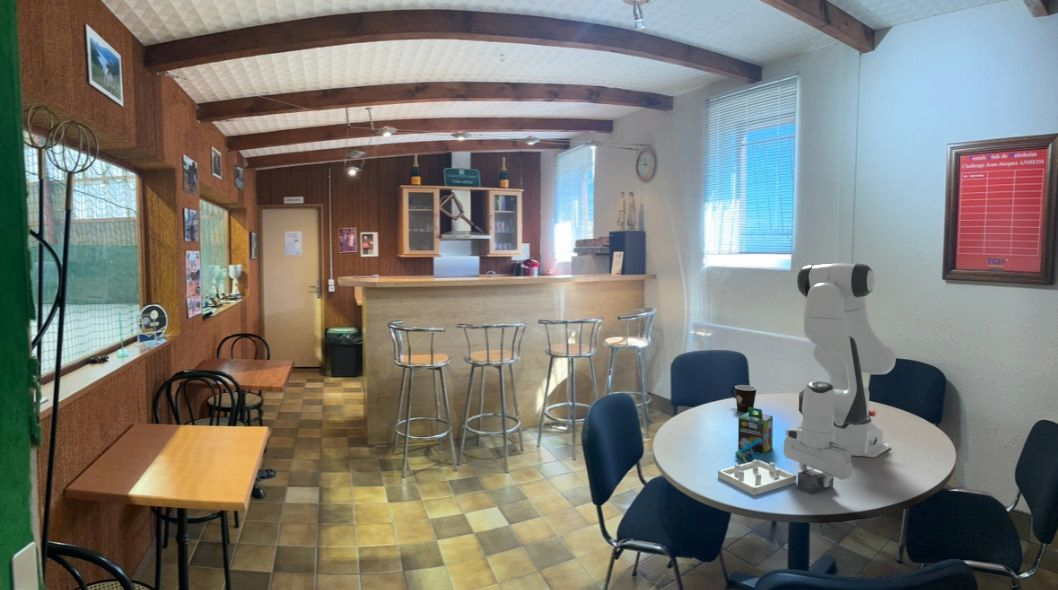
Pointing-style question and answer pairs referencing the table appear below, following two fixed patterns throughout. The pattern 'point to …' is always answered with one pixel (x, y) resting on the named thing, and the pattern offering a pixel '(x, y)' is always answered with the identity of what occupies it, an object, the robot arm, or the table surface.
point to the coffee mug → (744, 397)
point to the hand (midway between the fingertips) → (815, 482)
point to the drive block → (812, 481)
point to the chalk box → (755, 430)
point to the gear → (748, 448)
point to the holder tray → (751, 478)
